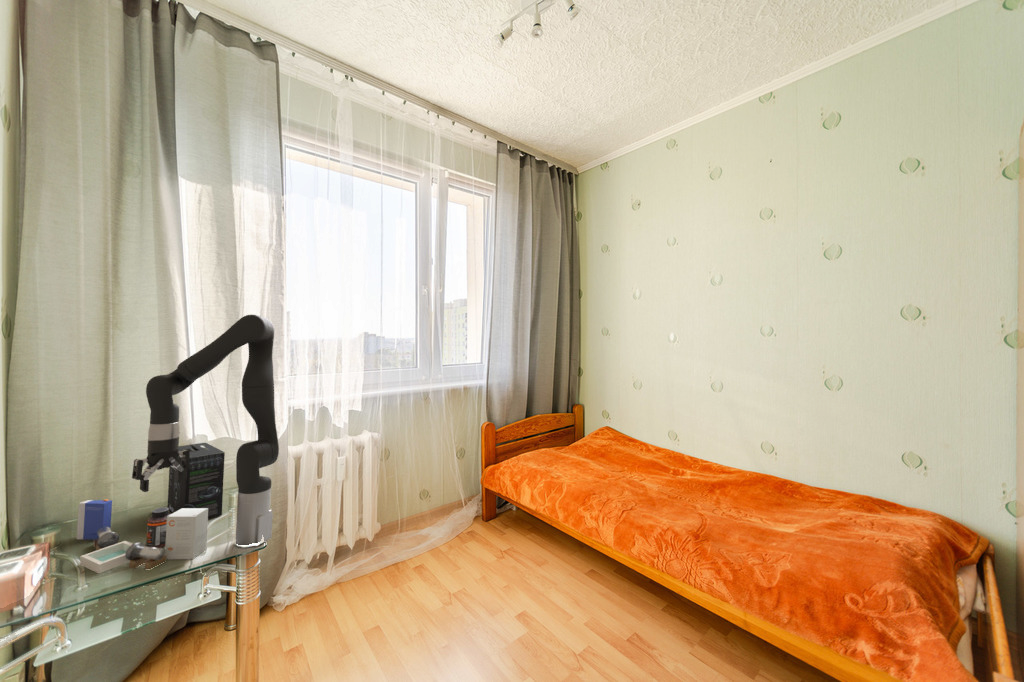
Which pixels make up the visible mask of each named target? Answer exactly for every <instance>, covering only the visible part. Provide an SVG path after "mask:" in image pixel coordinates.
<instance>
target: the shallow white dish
mask: <svg viewBox="0 0 1024 682" xmlns="http://www.w3.org/2000/svg"><path fill="white" fill-rule="evenodd" d="M132 544H133V543H132V542H131V541H127V540H123V541H121V542H120V541H119V542H118V543H117V544H114V545H111V546H108V547H105V548H102V549H99V550H97V551H96V550H94V551H92V552H89V553H86V554H82V555H80V558H79V559H80V560H79V561H80V562H79V563H80V564H79V565H80V566H82V567H84V568H86V569H88V570H91V571H92V572H94V573H97V574H102V573H103V572H106V571H109V570H112V569H114V568H116V567H119V566H122V565H124V564H127V563H129V561H130V560H127V559H126V557H125V554H126V551H127V549H128V548H129V547H130V546H131V545H132Z"/></svg>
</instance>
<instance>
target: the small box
mask: <svg viewBox="0 0 1024 682" xmlns="http://www.w3.org/2000/svg"><path fill="white" fill-rule="evenodd" d="M170 514H171V513H170ZM208 523H209V519H208V508H182V509H180V510H178V511H176V512H174V513H172V514H171V515H169V516H167V527H166V545H165V546H164V547H165V548H164V549H165V550H166V552H165V555H166V559H168V560H194V559H195V558H196V557H198V556H199V555H200V554H202V553H203V552H204V551H206V550H207V546H208V544H207V543H208ZM201 552H202V553H201ZM194 557H195V558H194ZM193 558H194V559H193Z"/></svg>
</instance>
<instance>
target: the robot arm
mask: <svg viewBox="0 0 1024 682" xmlns="http://www.w3.org/2000/svg"><path fill="white" fill-rule="evenodd" d="M274 340H275V327H274V324H273V323H272V321H271V320H270V319H269V318H267V317H265V316H261V315H257V314H247V315H244V316H242V317H240V319H238V320H237V321H236V322H234V324H232V325H231V326H230V327H229V328H228V329H227V330H225V331H224V332H223V333H222V334H221V335H220V336H218V337H217V338H216V339H214V340H213V341H212V342H211V343H209V344H208V345H206V346H205V347H203V348H202V349H200V350H198V351H197V352H195V353H193V354H192V355H191V356H189V357H187V358H185V359H184V360H183V361H181V362H180V363H179V364H178V365H177V367H176V369H175V370H173V371H171V372H170V373H168V374H159V375H156V376H154V377H153V376H152V377H151V378H150V380H148V382H147V384H146V389H145V394H146V399H147V403H148V407H149V409H150V413H149V414H150V416H149V417H150V418H149V427H148V432H147V437H148V438H147V450H146V451H147V456H146V458H136V459H134V460H133V466H132V472H131V473H132V475H131V478H132V479H133V480H136V481H139V490H140V491H141V492H144V493H146V492H149V488H150V487H149V485H150V478H151V476H152V474H155V472H156V471H157V470H158V471H160V470H163V469H166V468H167V469H169V467H170V466H171V467H173V468H174V469H175V470H176V471H175V472H174V483H177V484H178V483H180V481H182V473H183V470H184V469H186V468H189V467H190V453H189V451H188V450H182V451H180V452H178V448H179V446H180V422H179V421H180V406H179V405H178V404H177V403H174V398H173V397H174V396H175V395H177V394H180V393H182V392H183V391H185V390H186V389H188V388H189V387H190V386H191V385H192V384H194V383H195V381H196V380H198V379H200V378H201V377H203V376H204V375H206V374H208V373H209V372H211V371H212V370H213V369H215V368H216V367H218V365H220V364H221V363H222V362H223V361H224V360H225V359H226V357H228V356H229V355H230V354H232V352H234V351H235V350H238V349H239V348H241V347H242V346H245V345H248V359H247V363H246V366H245V370H244V373H243V377H242V379H241V401H242V404H243V406H244V408H245V410H246V411H247V413H248V414H249V415H250V417H251V418H252V419H253V421H254V423H255V425H256V428H257V429H256V431H257V439H256V440H252V441H248V442H245V443H243V444H241V445H240V446H239V447H238V449H237V452H236V458H235V459H236V462H235V463H236V464H235V466H236V468H235V469H236V470H235V471H236V474H235V475H236V485H237V486H238V487H237V488H238V489H237V490H238V491H237V506H236V508H237V509H236V522H235V523H236V524H235V525H236V526H235V543H236V544H238V545H249V544H252V543H258V542H260V541H261V539H262V535H263V537H264V541H265V542H264V543H266V542H268V541H269V540H270V539H272V532H273V516H274V515H273V514H274V511H273V509H271V499H272V498H271V497H272V494H271V493H272V479H271V478H270V477H269V476H266V475H265V476H263V475H260V469H262V468H265V467H268V466H271V465H274V463H276V462H277V460H278V458H279V455H280V454H279V453H280V447H279V438H278V433H277V432H278V431H277V425H276V411H275V380H274V363H273V353H274V351H273V350H274ZM179 456H180V457H181V466H180V464H179V463H178V462H177V461H176V459H177V458H178V457H179ZM145 464H147V466H146V467H144V466H145ZM143 467H144V469H143Z"/></svg>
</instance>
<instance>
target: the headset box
mask: <svg viewBox="0 0 1024 682" xmlns="http://www.w3.org/2000/svg"><path fill="white" fill-rule="evenodd" d="M182 450H188V451H189V453H190V467H189V468H186V469H184V470H183V473H182V481H180V483H178V484H177V483H174V472H175V471H176V470H175V469H174V468H173V467H171V466H170V467H169V468H168V469H169V471H168V488H167V490H168V492H167V508H169V514H172V513H174V512H176V511H178V510H180V509H182V508H208V520H209V519H214V518H217V517H220V516H223V501H224V499H223V496H224V495H223V494H224V493H223V492H224V474H225V453H226V452H225V451H223V450H222V449H220V448H217V447H216V446H213V445H211V444H210V443H208V442H199V443H193V444H191V443H190V444H186V445H184V444H183V445H179V448H178V452H180V451H182ZM176 461H177V462H178V463H179V464H180V466H181V457H180V456H179V457H178V458H177V459H176Z"/></svg>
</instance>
